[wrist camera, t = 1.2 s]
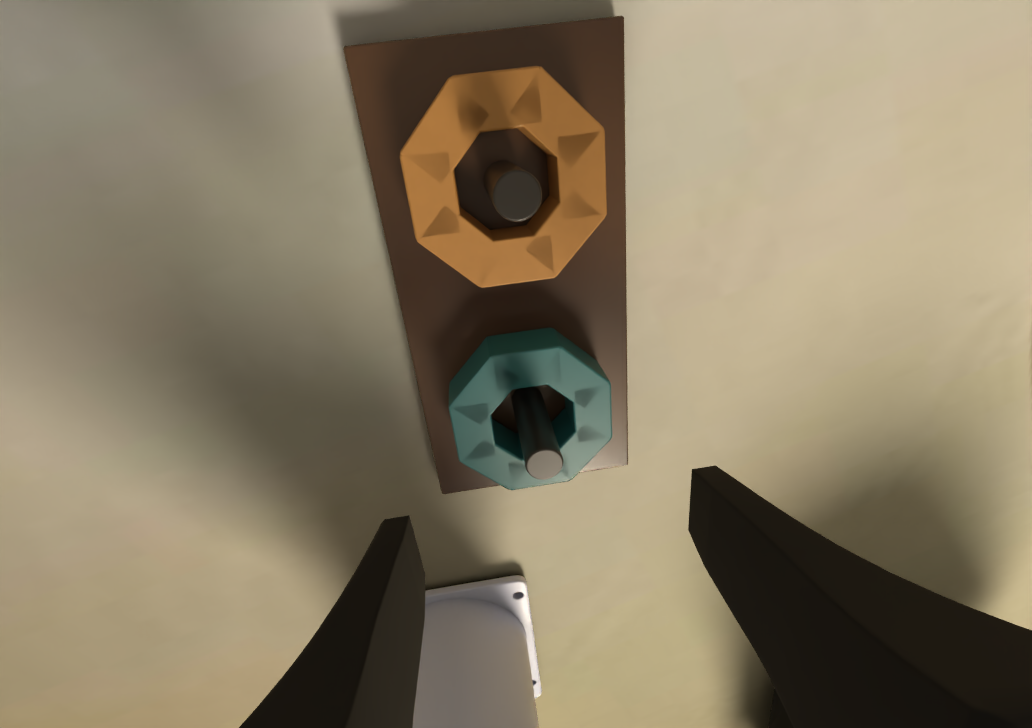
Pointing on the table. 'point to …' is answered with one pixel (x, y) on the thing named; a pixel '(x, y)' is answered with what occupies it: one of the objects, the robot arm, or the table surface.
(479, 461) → the teal ring
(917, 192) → the table surface
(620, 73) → the peg rack
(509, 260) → the ochre ring
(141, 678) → the table surface
